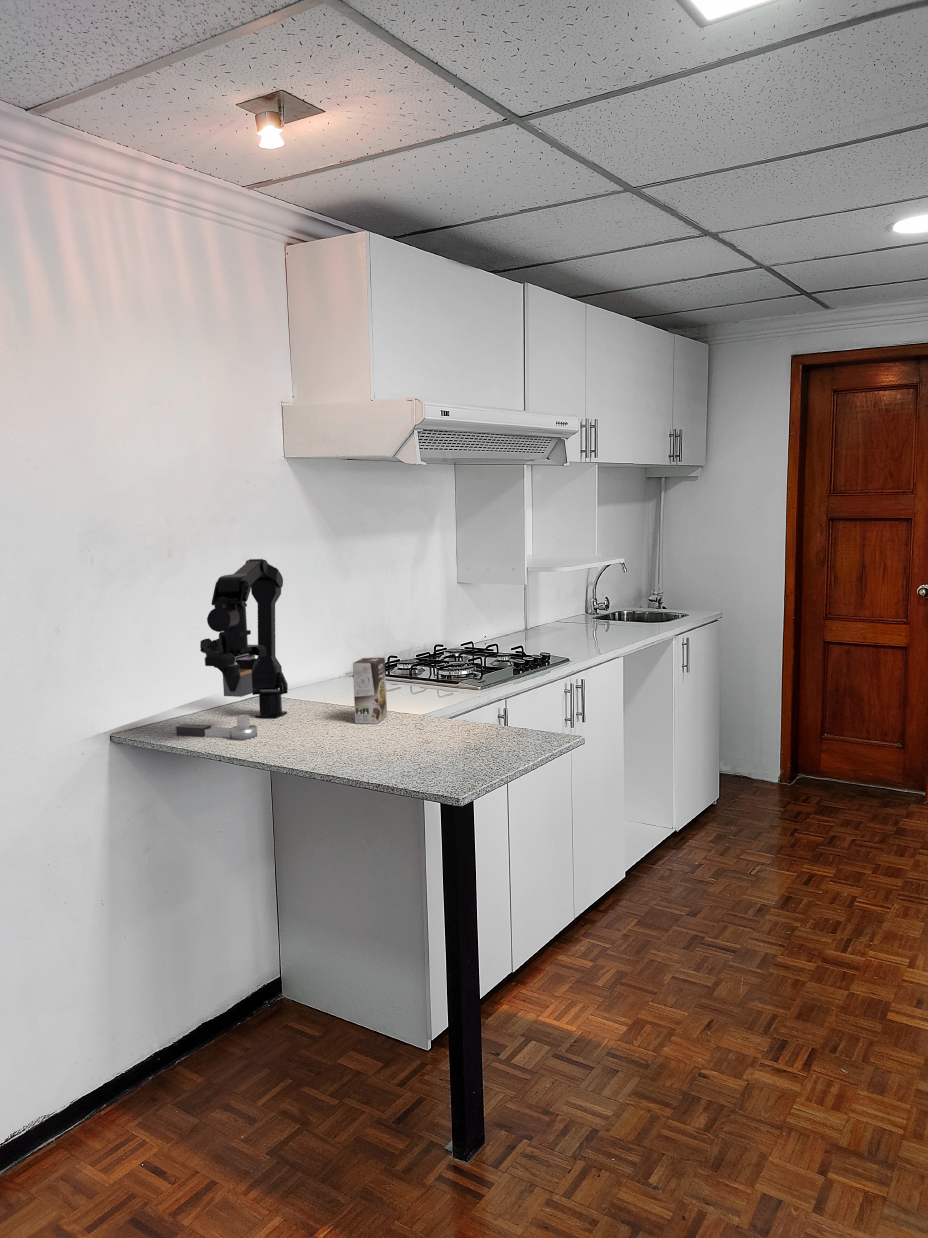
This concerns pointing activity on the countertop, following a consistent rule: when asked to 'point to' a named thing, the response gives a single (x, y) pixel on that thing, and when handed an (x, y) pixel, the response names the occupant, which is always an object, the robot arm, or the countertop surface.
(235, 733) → the ratchet
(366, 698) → the coffee box
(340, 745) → the countertop surface
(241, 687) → the grey block
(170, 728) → the countertop surface
